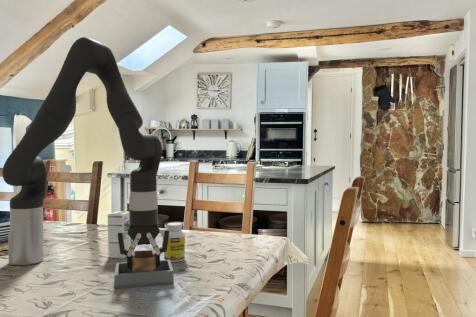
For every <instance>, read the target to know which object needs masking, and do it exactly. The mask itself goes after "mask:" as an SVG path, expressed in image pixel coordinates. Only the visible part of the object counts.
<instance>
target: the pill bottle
mask: <svg viewBox="0 0 476 317" xmlns="http://www.w3.org/2000/svg"><path fill="white" fill-rule="evenodd" d="M166 226H167V227H166V229H168V230H169V238H168V246H167V251H166V252H163V253H164V254H163V256H164V257H163V258H164V259H163V260H169V259H170V261H171V263H179V262H182V261H184V260H185V258H186V257H185V255H186V254H185V253H186V252H185V249H186V248H185V247H186V246H185V244H186V242H185V241H186V240H185V239H186V237H185V236H186V234H185V232H184V231H183V230H182V229H183V223H182V222H169V223H167V224H166Z"/></svg>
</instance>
